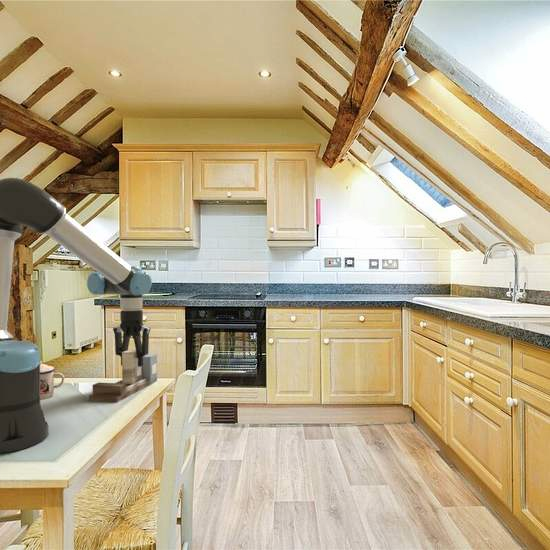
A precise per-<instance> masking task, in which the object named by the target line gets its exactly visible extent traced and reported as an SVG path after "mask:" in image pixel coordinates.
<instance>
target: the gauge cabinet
mask: <svg viewBox="0 0 550 550" xmlns="http://www.w3.org/2000/svg"><path fill="white" fill-rule="evenodd" d="M144 378H148V380H151V384H150V385H153V384H154V383H156V382H157V381H158V354H157V353H155V354H154V353H148V355H145V356H143V366H142V379H144ZM154 379H155V380H154ZM156 379H157V380H156ZM153 380H154V381H153ZM155 381H156V382H155Z"/></svg>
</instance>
